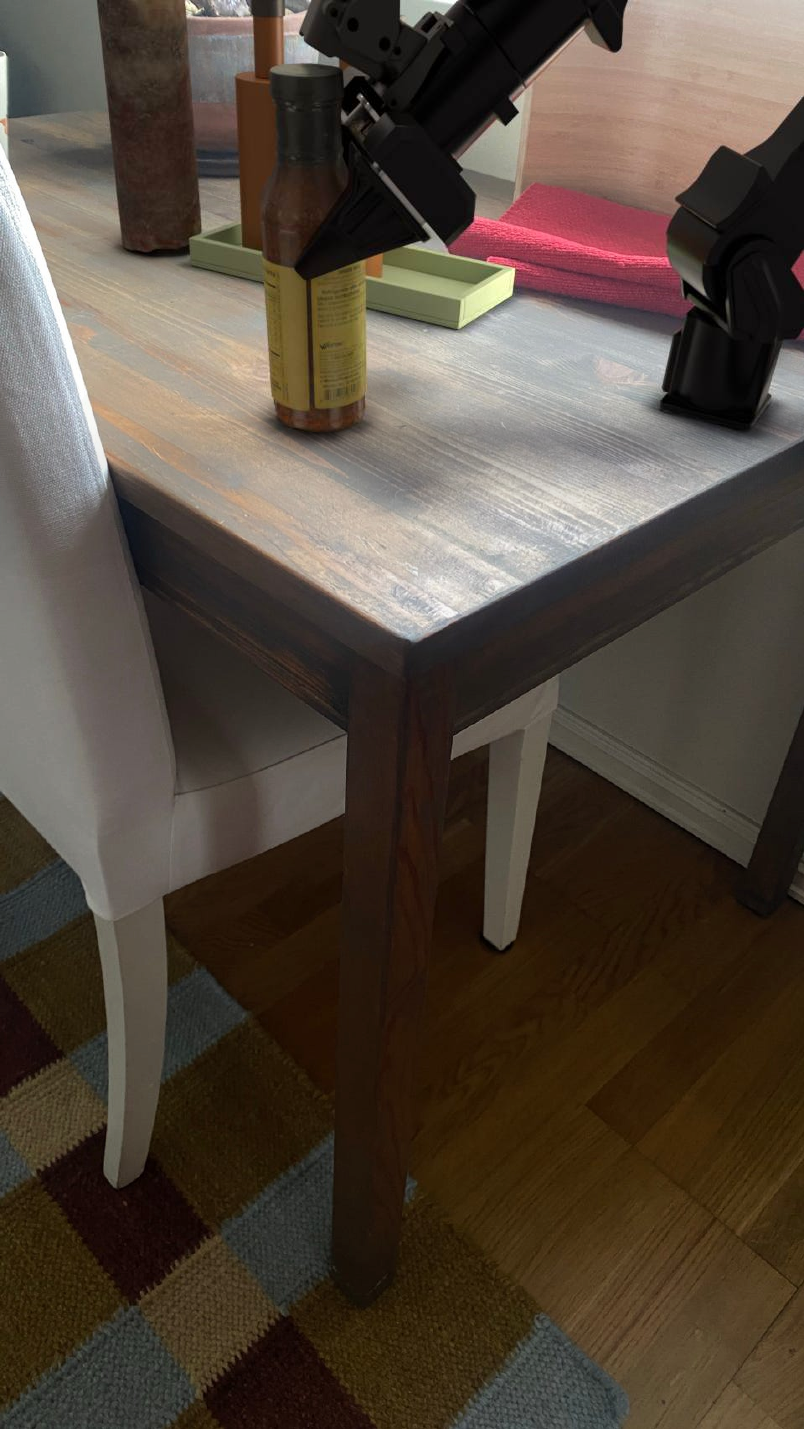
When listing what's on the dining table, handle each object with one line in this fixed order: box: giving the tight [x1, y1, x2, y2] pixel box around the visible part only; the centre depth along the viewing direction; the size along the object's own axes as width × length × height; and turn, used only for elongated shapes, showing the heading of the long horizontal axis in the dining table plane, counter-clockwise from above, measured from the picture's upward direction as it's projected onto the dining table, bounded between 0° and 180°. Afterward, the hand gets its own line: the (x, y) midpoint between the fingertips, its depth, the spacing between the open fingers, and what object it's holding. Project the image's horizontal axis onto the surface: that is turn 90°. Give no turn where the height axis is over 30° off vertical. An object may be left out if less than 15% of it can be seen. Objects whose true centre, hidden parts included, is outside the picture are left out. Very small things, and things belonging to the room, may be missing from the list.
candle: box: [96, 0, 203, 253], centre depth 90 cm, size 8×7×20 cm
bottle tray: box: [188, 0, 516, 330], centre depth 85 cm, size 27×11×20 cm, turn 61°
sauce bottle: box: [260, 62, 368, 433], centre depth 63 cm, size 7×6×20 cm
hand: (293, 257), depth 62 cm, fingers closed on sauce bottle, 6 cm apart
